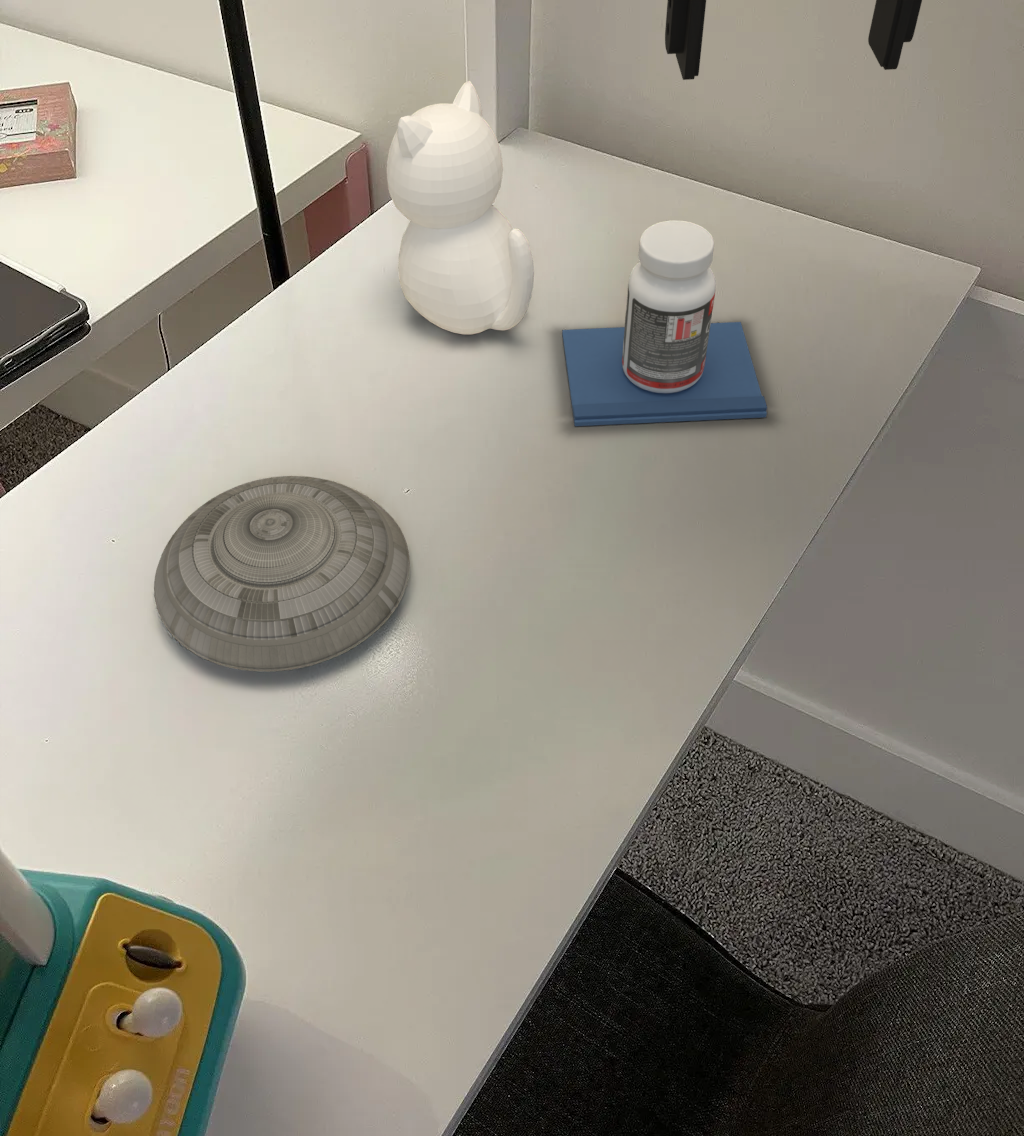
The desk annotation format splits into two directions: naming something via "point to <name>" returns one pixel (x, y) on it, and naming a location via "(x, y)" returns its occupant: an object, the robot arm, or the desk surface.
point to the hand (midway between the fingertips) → (783, 62)
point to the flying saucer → (281, 574)
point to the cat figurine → (457, 220)
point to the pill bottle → (669, 307)
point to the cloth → (617, 400)
